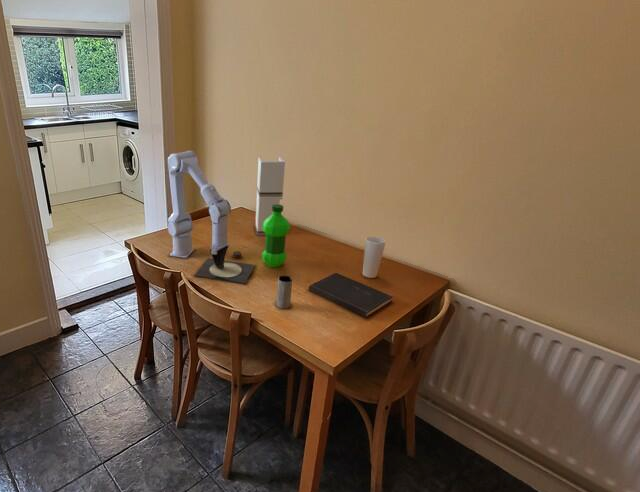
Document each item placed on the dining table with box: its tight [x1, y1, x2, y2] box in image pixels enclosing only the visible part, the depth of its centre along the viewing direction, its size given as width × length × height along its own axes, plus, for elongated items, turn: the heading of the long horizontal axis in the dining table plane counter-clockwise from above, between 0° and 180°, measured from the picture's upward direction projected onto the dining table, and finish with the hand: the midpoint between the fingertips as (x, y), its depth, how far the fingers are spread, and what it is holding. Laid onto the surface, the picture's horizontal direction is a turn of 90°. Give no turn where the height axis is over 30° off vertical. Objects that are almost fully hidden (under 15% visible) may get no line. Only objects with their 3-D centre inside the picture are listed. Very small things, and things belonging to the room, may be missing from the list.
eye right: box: [232, 250, 243, 260], centre depth 174 cm, size 4×4×2 cm
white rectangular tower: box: [254, 156, 286, 236], centre depth 194 cm, size 11×11×35 cm
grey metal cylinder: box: [276, 275, 293, 309], centre depth 137 cm, size 4×4×10 cm
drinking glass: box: [362, 236, 386, 279], centre depth 156 cm, size 7×7×15 cm
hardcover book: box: [308, 272, 394, 319], centre depth 144 cm, size 16×23×2 cm
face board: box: [194, 258, 256, 285], centre depth 163 cm, size 16×20×1 cm
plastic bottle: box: [261, 204, 291, 268], centre depth 163 cm, size 10×10×25 cm
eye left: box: [215, 260, 225, 269], centre depth 162 cm, size 4×4×2 cm
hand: (219, 263), depth 162 cm, fingers closed on eye left, 3 cm apart
